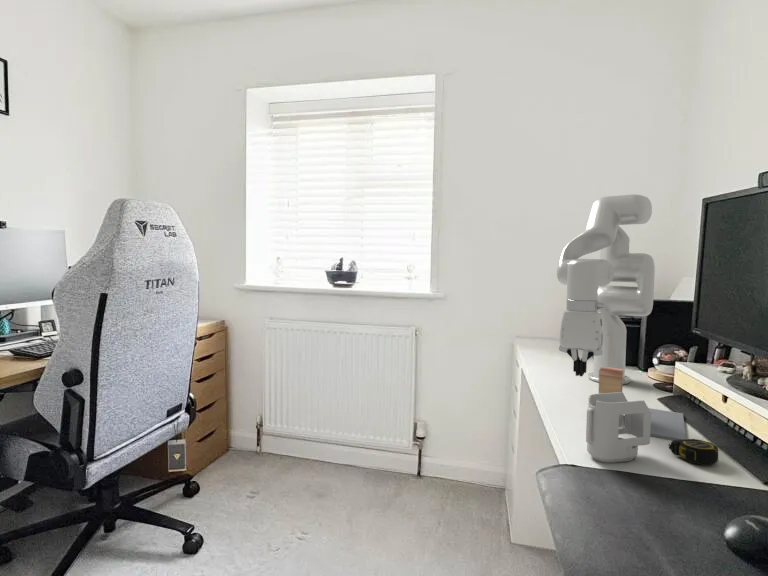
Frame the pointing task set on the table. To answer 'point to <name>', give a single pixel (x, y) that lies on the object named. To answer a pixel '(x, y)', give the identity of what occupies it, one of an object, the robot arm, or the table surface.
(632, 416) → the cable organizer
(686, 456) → the tape measure
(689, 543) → the table surface
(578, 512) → the table surface
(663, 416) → the rubber mat
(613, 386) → the oak block
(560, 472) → the table surface
